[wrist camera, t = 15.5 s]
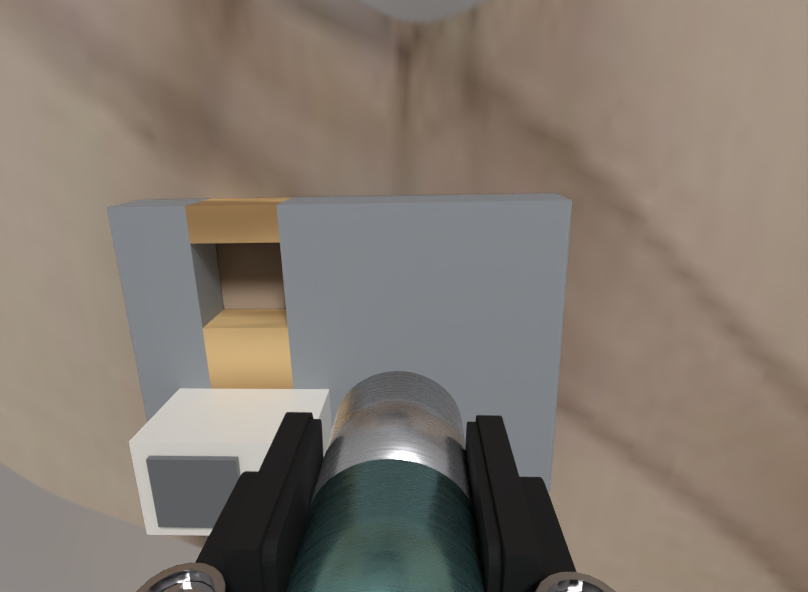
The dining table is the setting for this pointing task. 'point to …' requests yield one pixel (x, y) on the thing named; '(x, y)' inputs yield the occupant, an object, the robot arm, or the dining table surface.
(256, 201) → the subfloor panel
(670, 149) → the dining table surface
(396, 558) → the green silver cylinder
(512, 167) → the dining table surface
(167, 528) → the white rectangular block
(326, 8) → the dining table surface
